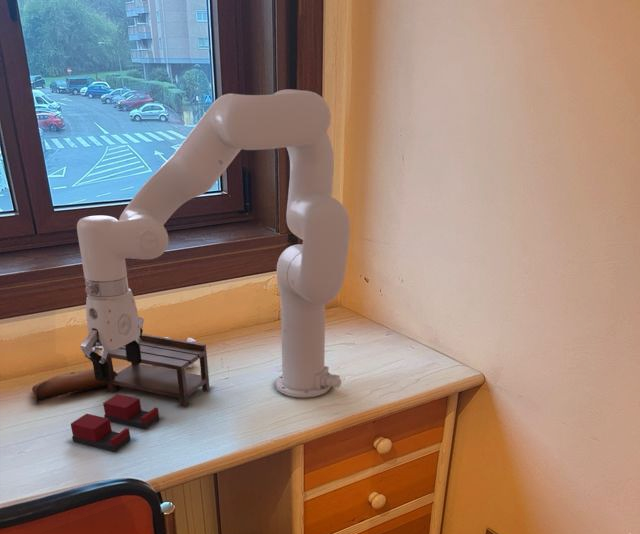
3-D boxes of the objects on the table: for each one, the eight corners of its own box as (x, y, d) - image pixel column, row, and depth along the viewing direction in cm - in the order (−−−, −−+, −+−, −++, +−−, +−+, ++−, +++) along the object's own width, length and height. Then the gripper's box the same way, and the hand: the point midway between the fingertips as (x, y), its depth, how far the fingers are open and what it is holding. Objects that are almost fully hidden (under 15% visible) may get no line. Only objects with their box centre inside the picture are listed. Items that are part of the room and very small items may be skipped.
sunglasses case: (110, 370, 151) (111, 353, 146) (120, 395, 148) (121, 378, 143) (29, 387, 143) (27, 369, 137) (38, 413, 140) (36, 396, 135)
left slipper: (131, 440, 124) (128, 422, 122) (115, 452, 120) (112, 433, 118) (89, 430, 128) (86, 412, 126) (72, 441, 124) (69, 423, 122)
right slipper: (159, 419, 132) (157, 401, 130) (145, 429, 128) (143, 411, 126) (119, 410, 135) (116, 393, 133) (104, 420, 131) (101, 402, 129)
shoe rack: (209, 388, 145) (205, 344, 140) (185, 407, 137) (180, 361, 131) (136, 374, 151) (130, 331, 146) (109, 391, 143) (101, 346, 138)
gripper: (92, 301, 110) (106, 391, 119) (152, 277, 124) (160, 358, 133) (57, 296, 113) (73, 384, 121) (120, 272, 127) (130, 353, 135)
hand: (119, 371), depth 127 cm, fingers open, 9 cm apart
